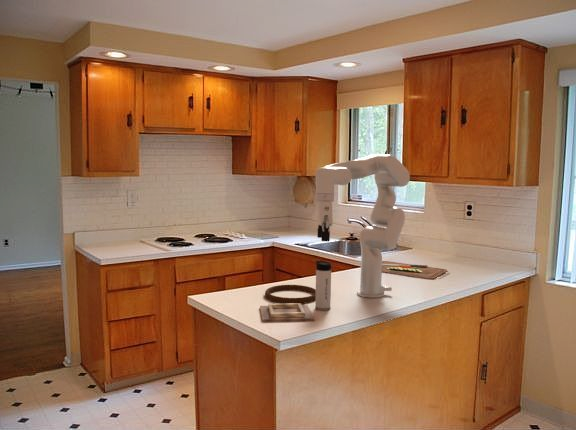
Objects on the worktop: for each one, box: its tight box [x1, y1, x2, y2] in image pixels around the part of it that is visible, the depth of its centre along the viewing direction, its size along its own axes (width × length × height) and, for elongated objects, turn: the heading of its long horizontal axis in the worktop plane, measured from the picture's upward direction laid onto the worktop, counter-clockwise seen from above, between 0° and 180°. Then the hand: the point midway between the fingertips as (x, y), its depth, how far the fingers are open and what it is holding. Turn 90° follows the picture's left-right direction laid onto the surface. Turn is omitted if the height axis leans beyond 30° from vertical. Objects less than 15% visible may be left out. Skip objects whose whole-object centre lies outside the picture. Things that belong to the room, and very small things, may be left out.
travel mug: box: [314, 260, 332, 311], centre depth 216 cm, size 6×7×20 cm
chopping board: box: [382, 260, 451, 280], centre depth 292 cm, size 45×27×3 cm, turn 55°
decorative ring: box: [264, 284, 316, 305], centre depth 236 cm, size 24×3×30 cm
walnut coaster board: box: [259, 303, 315, 323], centre depth 208 cm, size 20×18×2 cm
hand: (323, 239), depth 213 cm, fingers open, 9 cm apart
